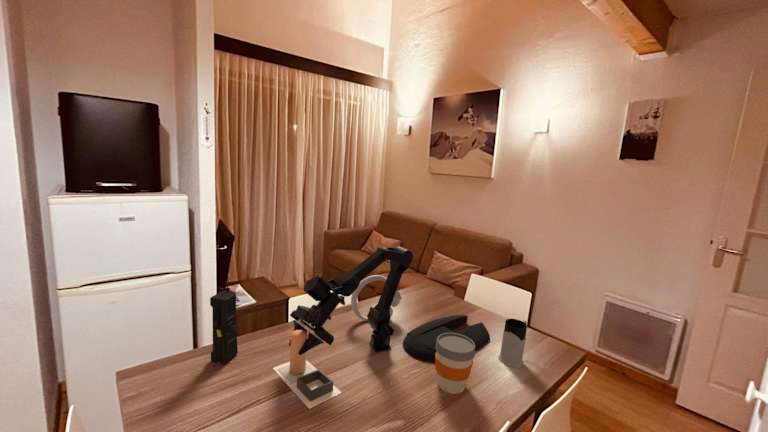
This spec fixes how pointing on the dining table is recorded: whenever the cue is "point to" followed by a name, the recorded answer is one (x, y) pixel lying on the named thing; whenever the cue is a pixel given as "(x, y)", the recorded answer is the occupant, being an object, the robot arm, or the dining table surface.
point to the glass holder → (513, 343)
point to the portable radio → (224, 326)
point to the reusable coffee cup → (453, 361)
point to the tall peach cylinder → (295, 359)
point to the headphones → (394, 304)
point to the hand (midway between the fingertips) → (294, 350)
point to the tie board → (308, 384)
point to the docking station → (425, 336)
